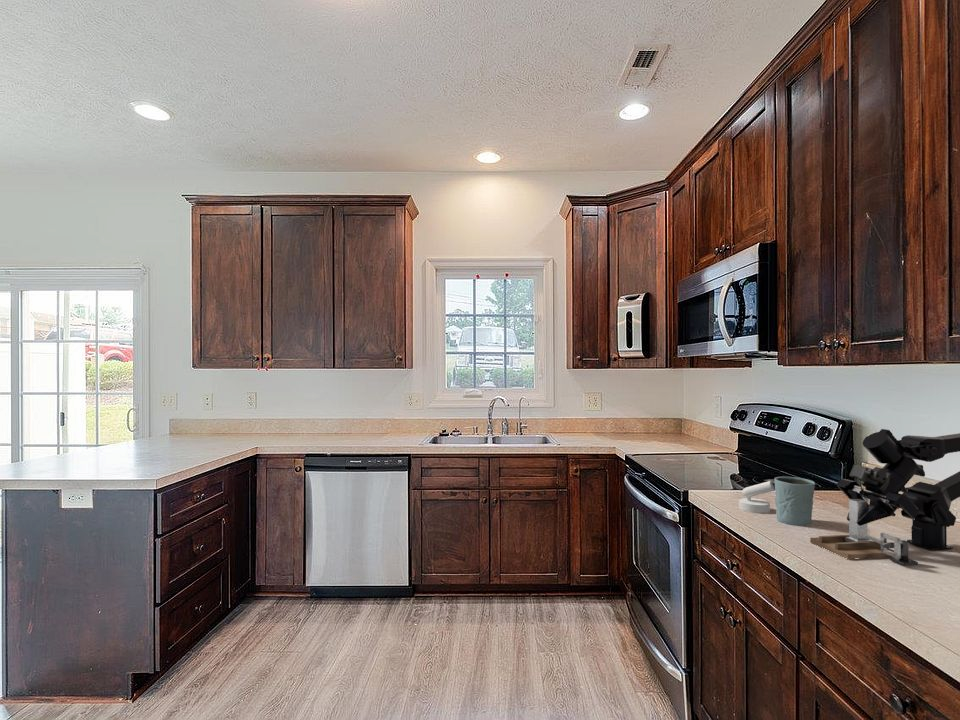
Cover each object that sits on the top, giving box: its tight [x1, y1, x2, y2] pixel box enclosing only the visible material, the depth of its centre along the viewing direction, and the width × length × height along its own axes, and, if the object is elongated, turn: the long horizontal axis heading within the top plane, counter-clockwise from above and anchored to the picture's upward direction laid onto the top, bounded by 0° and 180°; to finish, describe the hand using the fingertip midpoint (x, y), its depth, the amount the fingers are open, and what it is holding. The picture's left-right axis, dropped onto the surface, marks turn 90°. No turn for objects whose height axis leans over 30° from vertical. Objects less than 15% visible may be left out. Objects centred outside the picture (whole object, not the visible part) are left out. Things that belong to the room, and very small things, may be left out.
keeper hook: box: [882, 539, 919, 567], centre depth 122 cm, size 7×4×5 cm, turn 96°
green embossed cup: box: [774, 476, 816, 527], centre depth 154 cm, size 10×10×12 cm
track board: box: [809, 534, 894, 560], centre depth 131 cm, size 13×12×3 cm
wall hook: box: [738, 480, 776, 514], centre depth 166 cm, size 9×10×10 cm
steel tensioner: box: [845, 498, 902, 559], centre depth 126 cm, size 4×13×10 cm, turn 6°
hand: (853, 522), depth 131 cm, fingers closed on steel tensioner, 3 cm apart
